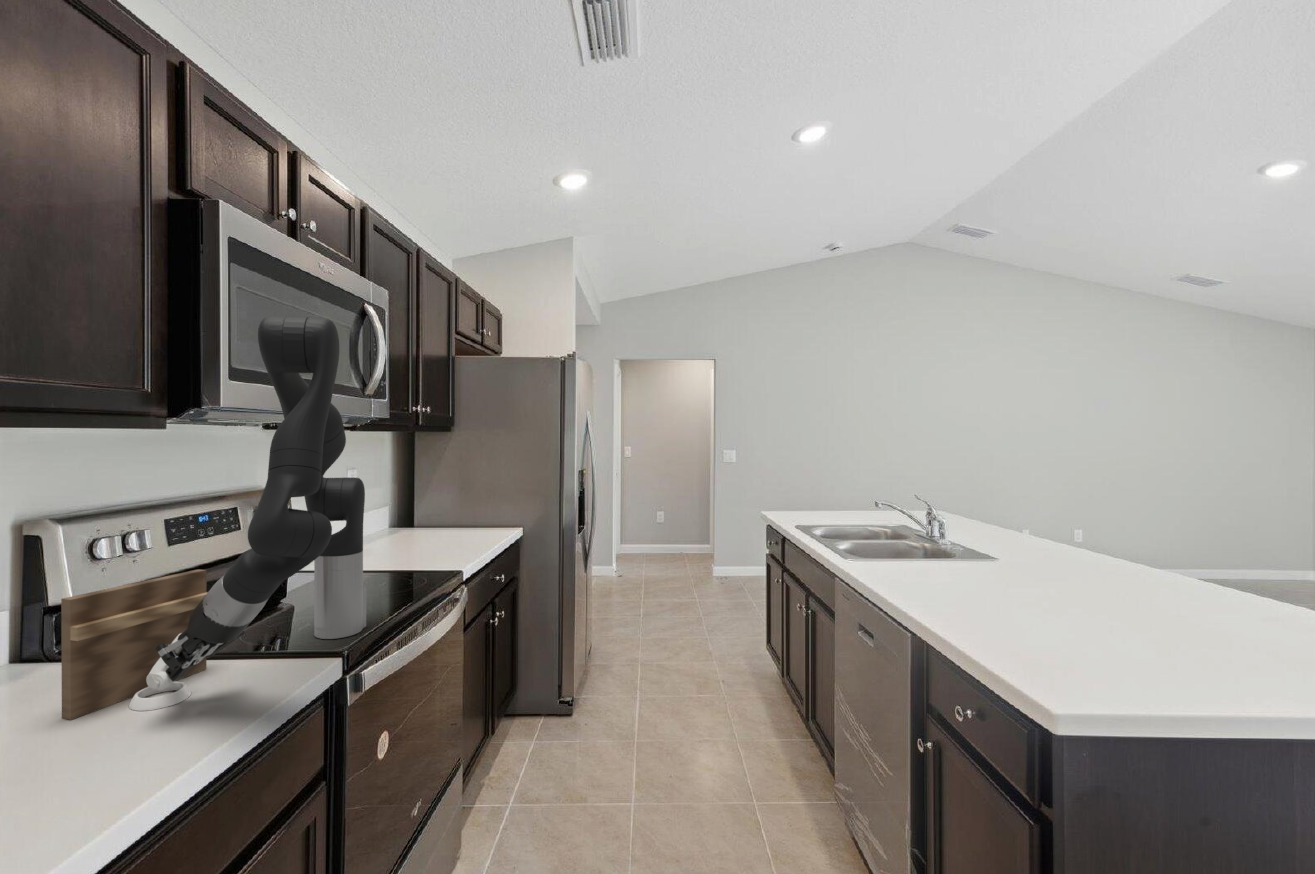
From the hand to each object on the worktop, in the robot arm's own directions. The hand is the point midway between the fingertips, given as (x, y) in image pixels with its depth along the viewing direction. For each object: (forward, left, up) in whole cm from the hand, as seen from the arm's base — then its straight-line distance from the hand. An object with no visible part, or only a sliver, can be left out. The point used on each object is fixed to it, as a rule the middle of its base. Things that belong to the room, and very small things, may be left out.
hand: (173, 675), depth 95 cm
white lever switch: (0, -3, -5) cm, 5 cm away
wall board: (-1, -9, -4) cm, 10 cm away
